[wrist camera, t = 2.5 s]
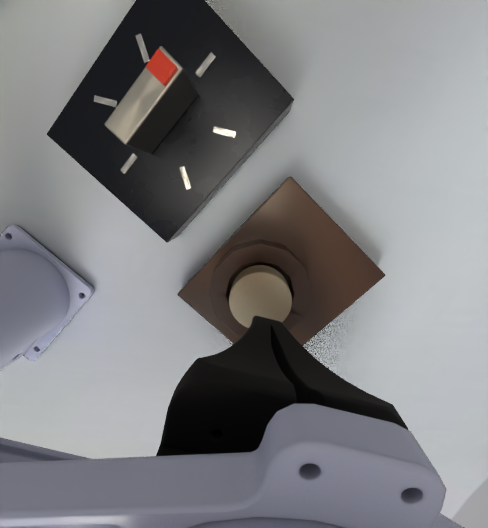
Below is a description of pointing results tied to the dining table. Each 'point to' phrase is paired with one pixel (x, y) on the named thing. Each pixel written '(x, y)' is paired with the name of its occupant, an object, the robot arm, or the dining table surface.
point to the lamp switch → (286, 265)
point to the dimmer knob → (152, 103)
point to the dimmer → (189, 124)
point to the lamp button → (260, 295)
